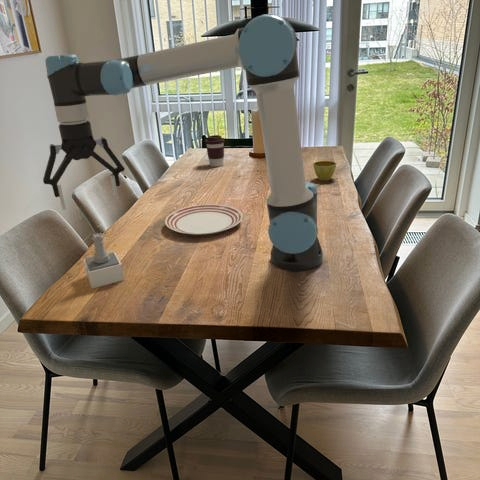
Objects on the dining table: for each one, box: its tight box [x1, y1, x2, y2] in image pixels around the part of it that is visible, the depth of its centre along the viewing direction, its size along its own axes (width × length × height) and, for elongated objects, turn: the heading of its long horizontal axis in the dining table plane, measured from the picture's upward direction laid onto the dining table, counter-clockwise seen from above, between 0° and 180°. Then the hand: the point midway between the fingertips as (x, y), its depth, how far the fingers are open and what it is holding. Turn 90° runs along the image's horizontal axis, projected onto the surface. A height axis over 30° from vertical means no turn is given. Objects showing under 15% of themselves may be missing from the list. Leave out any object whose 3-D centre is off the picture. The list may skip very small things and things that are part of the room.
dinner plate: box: [164, 203, 243, 236], centre depth 164 cm, size 28×27×3 cm
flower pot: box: [312, 160, 337, 182], centre depth 205 cm, size 10×10×7 cm
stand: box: [83, 252, 125, 289], centre depth 131 cm, size 9×9×5 cm
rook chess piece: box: [91, 232, 110, 264], centre depth 128 cm, size 4×4×8 cm
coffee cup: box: [204, 134, 225, 168], centre depth 237 cm, size 10×10×15 cm
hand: (90, 203), depth 123 cm, fingers open, 13 cm apart
